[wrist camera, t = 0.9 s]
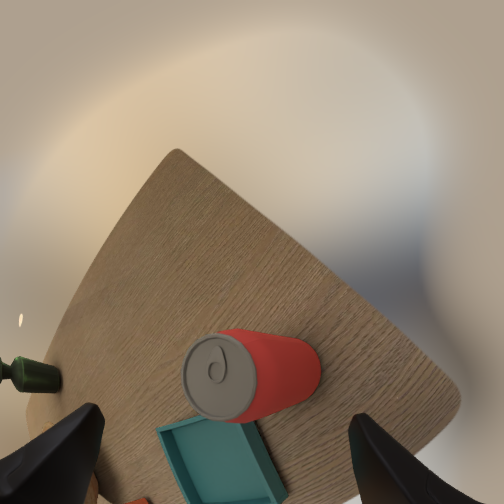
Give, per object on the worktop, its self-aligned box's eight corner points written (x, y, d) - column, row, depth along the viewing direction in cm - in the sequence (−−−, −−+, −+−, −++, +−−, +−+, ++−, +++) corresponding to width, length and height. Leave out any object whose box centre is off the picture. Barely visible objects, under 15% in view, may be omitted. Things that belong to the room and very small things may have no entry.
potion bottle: (54, 355, 49) (-13, 340, 35) (63, 382, 45) (-11, 369, 30) (47, 377, 49) (-16, 365, 35) (56, 403, 45) (-13, 393, 30)
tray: (288, 495, 20) (278, 506, 18) (204, 505, 23) (191, 512, 21) (244, 400, 26) (231, 403, 24) (169, 425, 30) (155, 428, 27)
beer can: (324, 337, 25) (267, 325, 15) (320, 406, 22) (259, 440, 13) (261, 337, 28) (178, 322, 18) (257, 399, 26) (171, 416, 16)
